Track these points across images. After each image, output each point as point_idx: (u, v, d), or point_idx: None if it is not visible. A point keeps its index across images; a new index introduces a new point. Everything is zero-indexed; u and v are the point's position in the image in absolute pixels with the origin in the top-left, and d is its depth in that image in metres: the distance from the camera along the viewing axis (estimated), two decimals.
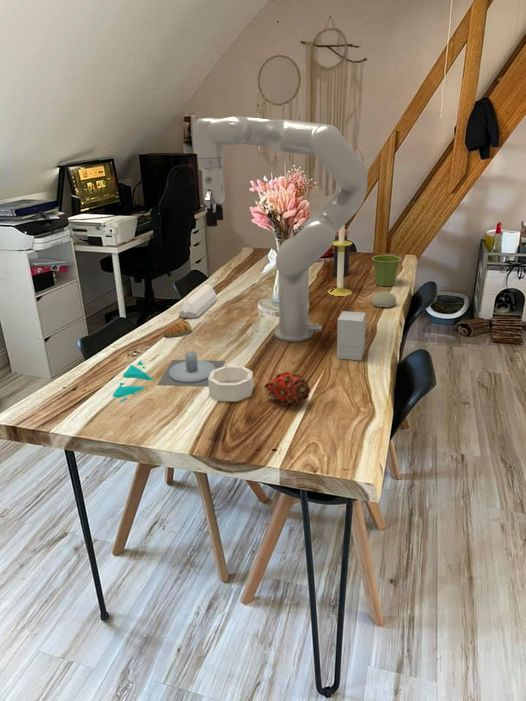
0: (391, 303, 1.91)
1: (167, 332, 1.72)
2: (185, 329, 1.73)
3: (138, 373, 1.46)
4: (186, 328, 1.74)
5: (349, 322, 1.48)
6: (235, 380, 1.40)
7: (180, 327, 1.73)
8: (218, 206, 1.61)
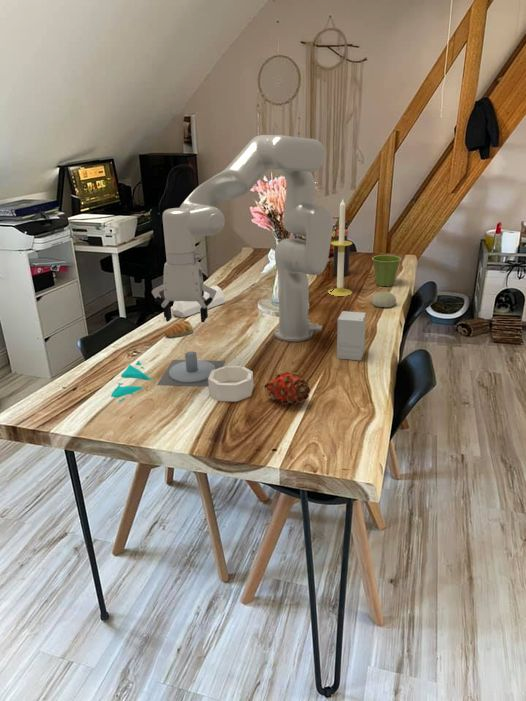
0: (391, 303, 1.91)
1: (168, 333, 1.71)
2: (186, 329, 1.73)
3: (136, 373, 1.46)
4: (187, 328, 1.73)
5: (349, 322, 1.48)
6: (235, 380, 1.40)
7: (181, 327, 1.73)
8: (168, 304, 1.40)
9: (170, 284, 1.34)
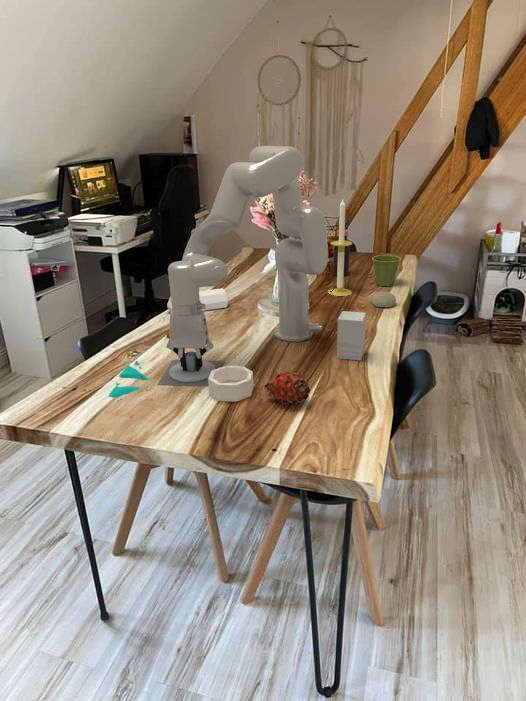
0: (391, 303, 1.91)
1: None
2: None
3: (134, 373, 1.46)
4: None
5: (349, 322, 1.48)
6: (235, 380, 1.40)
7: None
8: None
9: (176, 333, 1.40)
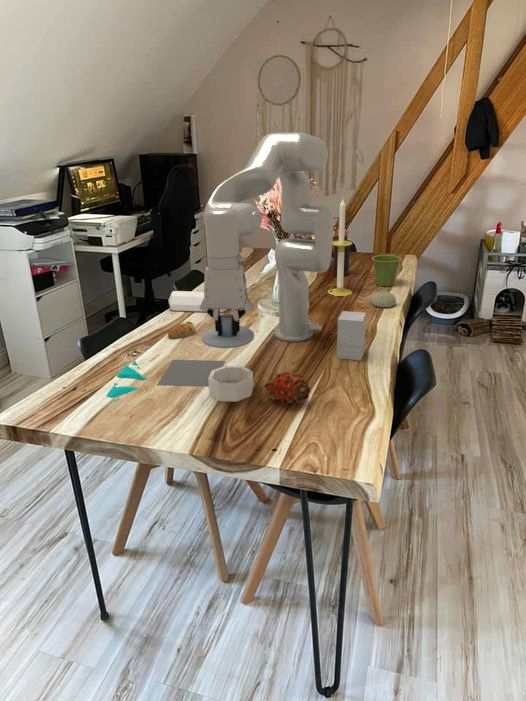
0: (391, 303, 1.91)
1: (172, 333, 1.70)
2: (189, 330, 1.73)
3: (132, 373, 1.46)
4: (191, 329, 1.73)
5: (349, 322, 1.48)
6: (235, 380, 1.40)
7: (185, 328, 1.72)
8: None
9: (212, 291, 1.23)
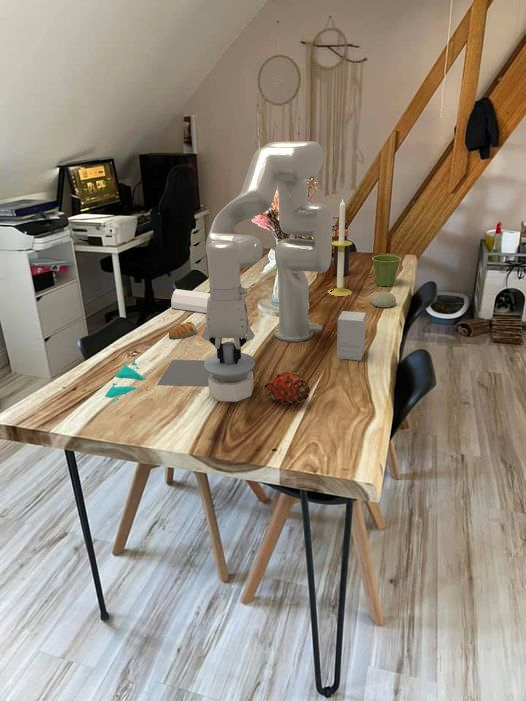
0: (391, 303, 1.91)
1: (173, 334, 1.70)
2: (190, 330, 1.72)
3: (131, 373, 1.46)
4: (191, 329, 1.73)
5: (349, 322, 1.48)
6: (235, 380, 1.40)
7: (186, 328, 1.72)
8: None
9: (214, 320, 1.26)
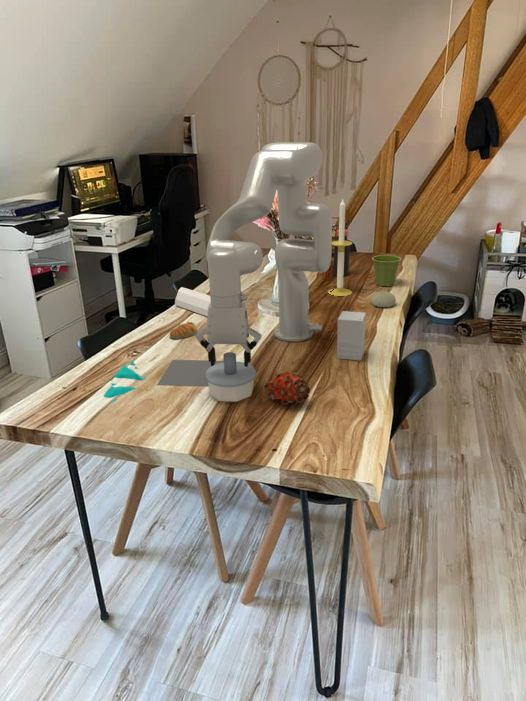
0: (391, 303, 1.91)
1: (174, 334, 1.70)
2: (191, 330, 1.72)
3: (130, 373, 1.46)
4: (192, 329, 1.73)
5: (349, 322, 1.48)
6: None
7: (187, 328, 1.72)
8: (213, 347, 1.33)
9: (214, 327, 1.27)
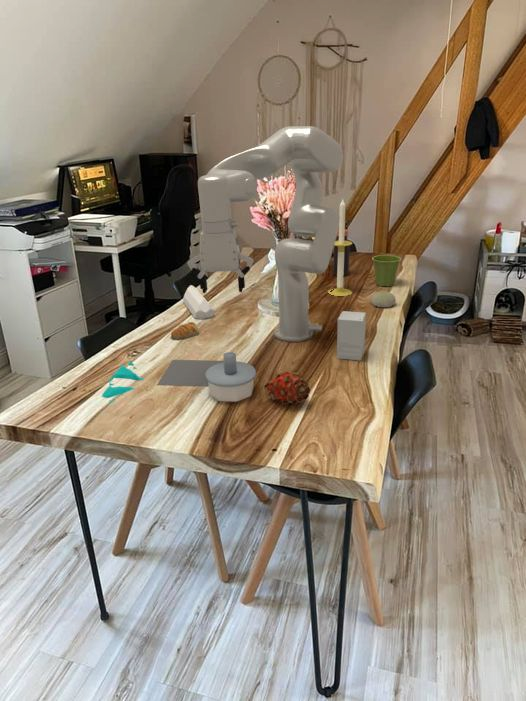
0: (391, 303, 1.91)
1: (175, 334, 1.70)
2: (192, 330, 1.72)
3: (128, 374, 1.46)
4: (194, 329, 1.72)
5: (349, 322, 1.48)
6: None
7: (188, 329, 1.71)
8: (204, 275, 1.37)
9: (207, 254, 1.31)
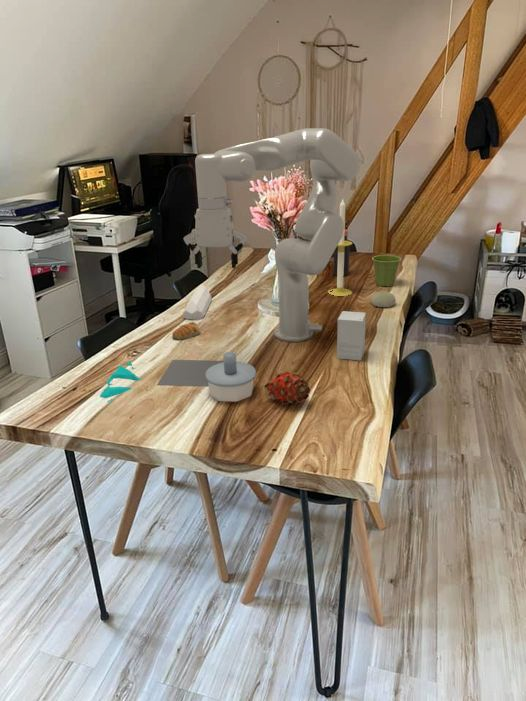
0: (390, 303, 1.91)
1: (177, 335, 1.70)
2: (194, 331, 1.72)
3: (126, 374, 1.46)
4: (195, 329, 1.72)
5: (349, 322, 1.48)
6: None
7: (189, 329, 1.71)
8: (199, 251, 1.43)
9: (202, 230, 1.38)
